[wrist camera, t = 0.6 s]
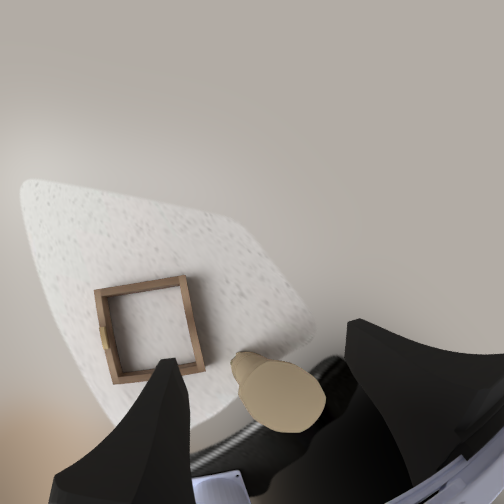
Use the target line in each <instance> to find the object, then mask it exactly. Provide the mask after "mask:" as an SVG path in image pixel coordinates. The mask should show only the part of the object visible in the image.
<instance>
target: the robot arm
mask: <svg viewBox="0 0 504 504" xmlns="http://www.w3.org/2000/svg"><path fill="white" fill-rule="evenodd" d="M344 358H345V360H346V362H347V364H348V366H349V368H350V370H351V372H352V374H353V375H354V377H355V378H356V380H357V381H358V382H359V384H360V385H361V387H362V388H363V389H364V391H365V392H366V393H367V395H368V396H369V397H370V399H371V400H372V401H373V403H374V404H375V406H376V407H377V408H378V410H379V411H380V413H381V414H382V416H383V417H384V419H385V421H386V423H387V425H388V427H389V429H390V430H391V432H392V434H393V436H394V438H395V440H396V442H397V445H398V447H399V449H400V451H401V454H402V456H403V458H404V461H405V464H406V466H407V469H408V472H409V475H410V478H411V481H412V485H413V486H414V488H412V489H411V490H409V491H407V492H406V493H404V494H402V495H400V496H398V497H397V498H395V499H393V500H391V501H389V502H387V503H385V504H418V503H419V502H421V501H422V500H424V499H425V498H427V497H428V496H430V495H431V494H433V493H434V492H436V491H437V490H438V489H440V490H439V493H438V494H437V495H436V496H434V497H433V498H431V499H430V500H429V501H427V502H426V503H425V504H490V503H492V501H493V500H494V499H495V498H496V497H497V496H498V494H500V492H501V491H502V490H503V489H504V354H489V355H482V354H480V355H479V354H466V353H458V352H452V351H447V350H442V349H438V348H434V347H430V346H427V345H424V344H420V343H418V342H415V341H412V340H409V339H407V338H404V337H402V336H400V335H397V334H395V333H392V332H390V331H388V330H386V329H383V328H381V327H379V326H377V325H374V324H372V323H370V322H368V321H365V320H363V319H360V318H359V319H356V320H352V321H349V322H348V323H347V335H346V346H345V356H344ZM236 475H239V476H236ZM48 504H251V501H250V499H249V496H248V493H247V490H246V488H245V485H244V482H243V479H242V476H241V473H240V471H239V470H233V471H229V472H224V473H219V474H214V475H208V476H202V477H196V478H192V477H191V470H190V407H189V397H188V391H187V388H186V386H185V383H184V380H183V378H182V375H181V372H180V370H179V367H178V364H177V361H176V358H169V359H161V360H160V361H159V363H158V365H157V366H156V368H155V370H154V372H153V373H152V375H151V377H150V379H149V380H148V382H147V384H146V385H145V387H144V389H143V390H142V392H141V394H140V395H139V397H138V398H137V400H136V401H135V403H134V404H133V406H132V407H131V408H130V410H129V411H128V413H127V414H126V415H125V417H124V418H123V419H122V420H121V422H120V423H119V424H118V425H117V426H116V428H115V429H114V430H113V431H112V432H111V433H110V434H109V435H108V436H107V437H106V438H105V439H104V440H103V441H102V442H101V443H100V444H99V445H98V446H96V447H95V448H94V449H93V450H92V451H91V452H89V453H88V454H87V455H85V456H84V457H83V458H82V459H80V460H79V461H77V462H76V463H74V464H73V465H71V466H70V467H68V468H66V469H64V470H63V471H61V472H59V473H58V474H56V475H55V476H54V479H53V484H52V489H51V493H50V498H49V502H48Z"/></svg>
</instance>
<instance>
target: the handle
mask: <svg viewBox="0 0 504 504" xmlns="http://www.w3.org/2000/svg"><path fill="white" fill-rule="evenodd" d="M230 364H231V366H232V367H231V368H232V373H233V376H234V378H235V379H236V381H237V382H238V384H239V391H238V395H239V397H240V399H241V400H242V402H243V404H244V405H245V407H246V409H247V410H248V412H249V413H250V415H251V416H252V417H253V418H254V419H255V420H256V421H258V422H259V423H261V424H263V425H264V426H266V427H268V428H270V429H272V430H275V431H279V432H302V431H304V430H306V429H307V428H309V427H310V426H311V425H312V424H313V423H314V422H315V421H316V420H317V419H318V417H319V416H320V414H321V413H322V411H323V408H324V406H325V401H326V397H325V395H324V392H323V390H322V388H321V386H320V385H319V383H318V381H317V380H316V379H315V378H314V377H313V376H312V375H310V374H309V373H307V372H306V371H304V370H303V369H302V368H300V367H298V366H296V365H294V364H292V363H289V362H285V361H279V360H272V359H267V358H265V357H263V356H261V355H259V354H257V353H253V352H238V353H236V356H235V358H234V359H232V360H231V362H230Z"/></svg>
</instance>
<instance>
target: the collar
mask: <svg viewBox="0 0 504 504" xmlns="http://www.w3.org/2000/svg"><path fill="white" fill-rule="evenodd" d="M175 286H180V288H181V294H182V299H183V304H184V309H185V314H186V319H187V324H188V329H189V333H190V338H191V342H192V347H193V351H194V355H195V359H196V362H193V363H187V364H182V365H178V367H179V370H180V372H181V375H182V376H183V375H188V374H194V373H199V372H204V371H206V370H205V366H204V361H203V357H202V353H201V349H200V344H199V340H198V335H197V331H196V326H195V321H194V317H193V312H192V307H191V302H190V297H189V291H188V286H187V281H186V275H182V276H176V277H170V278H164V279H158V280H152V281H146V282H140V283H134V284H128V285H122V286H116V287H109V288H103V289H97V290H94V295H95V302H96V308H97V314H98V320H99V326H100V328H99V331H100V336H101V340H102V345H103V349H104V350H105V354H106V359H107V363H108V367H109V371H110V374H111V378H112V382H113V385H115V384H125V383H134V382H143V381H148V380H149V379H150V377H151V375H152V373H153V372H154V370H155V369H150V370H142V371H134V372H126V373H123V372H122V368H121V364H120V360H119V356H118V351H117V347H116V342H115V338H114V333H113V328H112V322H111V317H110V311H109V305H108V299H107V297H114V296H120V295H126V294H133V293H139V292H145V291H151V290H157V289H163V288H169V287H175Z"/></svg>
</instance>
